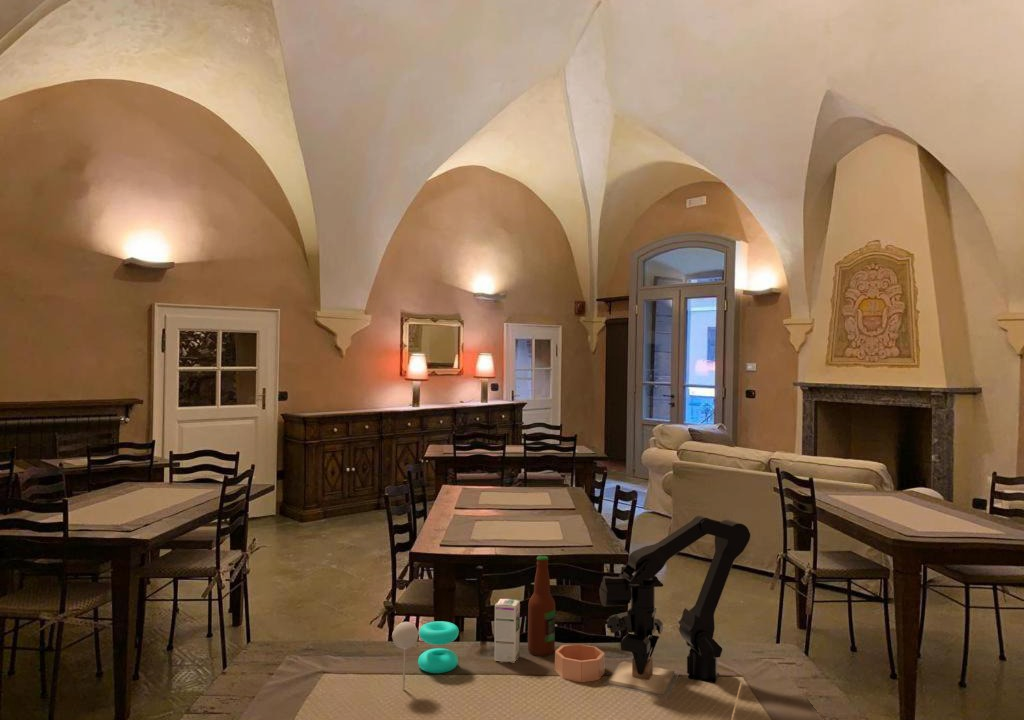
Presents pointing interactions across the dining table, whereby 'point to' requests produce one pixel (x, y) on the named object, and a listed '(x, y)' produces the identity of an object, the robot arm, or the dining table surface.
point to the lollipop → (405, 639)
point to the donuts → (438, 657)
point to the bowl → (579, 662)
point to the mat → (646, 691)
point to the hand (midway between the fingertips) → (642, 671)
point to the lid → (642, 677)
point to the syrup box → (507, 630)
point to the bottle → (541, 613)
